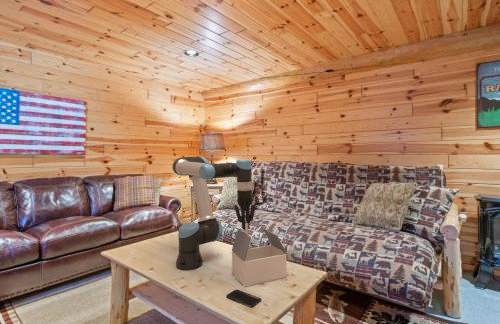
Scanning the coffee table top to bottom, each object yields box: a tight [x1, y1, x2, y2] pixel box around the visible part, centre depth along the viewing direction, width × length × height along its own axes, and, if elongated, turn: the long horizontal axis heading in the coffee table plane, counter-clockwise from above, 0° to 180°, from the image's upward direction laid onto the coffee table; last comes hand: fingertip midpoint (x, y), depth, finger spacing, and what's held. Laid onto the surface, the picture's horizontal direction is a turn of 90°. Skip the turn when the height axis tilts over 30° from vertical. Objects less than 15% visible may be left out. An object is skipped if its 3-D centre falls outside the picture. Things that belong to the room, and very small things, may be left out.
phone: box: [225, 289, 262, 309], centre depth 128 cm, size 8×1×15 cm
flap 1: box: [231, 228, 252, 261], centre depth 146 cm, size 16×12×1 cm
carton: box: [231, 244, 287, 288], centre depth 151 cm, size 16×24×12 cm, turn 115°
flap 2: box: [261, 227, 287, 254], centre depth 154 cm, size 16×12×1 cm
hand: (246, 235), depth 146 cm, fingers closed
